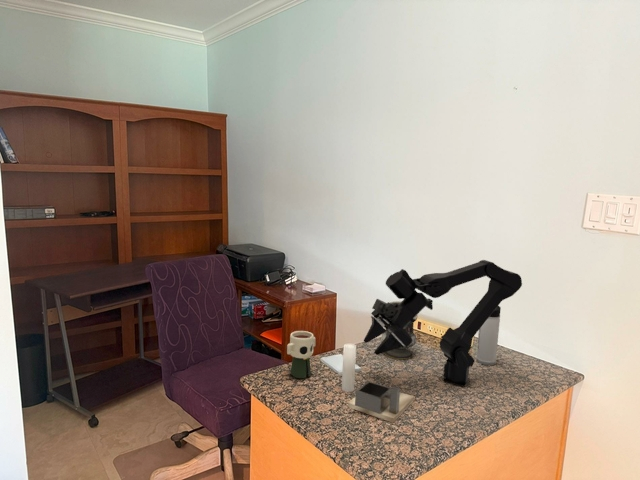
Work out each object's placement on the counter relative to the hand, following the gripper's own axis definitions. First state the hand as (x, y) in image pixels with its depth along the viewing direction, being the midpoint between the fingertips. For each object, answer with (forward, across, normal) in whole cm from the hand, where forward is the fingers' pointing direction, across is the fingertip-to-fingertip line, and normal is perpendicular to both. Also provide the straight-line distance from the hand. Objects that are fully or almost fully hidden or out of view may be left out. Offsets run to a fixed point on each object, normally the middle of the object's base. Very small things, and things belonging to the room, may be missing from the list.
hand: (369, 347), depth 128 cm
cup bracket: (+9, +13, +7) cm, 17 cm away
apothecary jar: (-5, -23, +22) cm, 32 cm away
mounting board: (+8, +10, +9) cm, 16 cm away
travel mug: (-24, -12, +42) cm, 50 cm away
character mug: (+21, -11, -4) cm, 24 cm away
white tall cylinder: (+13, 0, +4) cm, 14 cm away
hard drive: (+12, -16, +7) cm, 21 cm away
